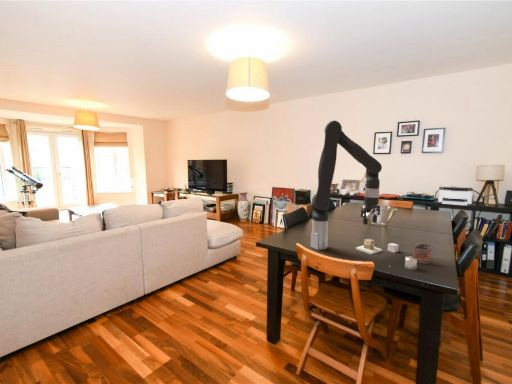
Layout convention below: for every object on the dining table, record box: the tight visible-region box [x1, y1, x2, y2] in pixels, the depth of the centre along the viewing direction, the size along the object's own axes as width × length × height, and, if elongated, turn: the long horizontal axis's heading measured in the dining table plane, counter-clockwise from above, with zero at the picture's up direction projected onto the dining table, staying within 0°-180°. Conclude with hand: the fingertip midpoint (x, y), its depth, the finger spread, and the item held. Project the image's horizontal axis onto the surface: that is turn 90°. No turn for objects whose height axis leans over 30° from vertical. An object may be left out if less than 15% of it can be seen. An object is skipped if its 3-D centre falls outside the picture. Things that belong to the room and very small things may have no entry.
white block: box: [387, 242, 399, 253], centre depth 147 cm, size 4×4×4 cm
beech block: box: [363, 238, 375, 250], centre depth 148 cm, size 4×4×5 cm
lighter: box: [412, 242, 432, 265], centre depth 131 cm, size 8×3×10 cm, turn 69°
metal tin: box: [404, 255, 418, 271], centre depth 124 cm, size 5×5×5 cm
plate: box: [355, 244, 383, 255], centre depth 149 cm, size 10×10×1 cm
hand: (370, 223), depth 147 cm, fingers open, 8 cm apart
